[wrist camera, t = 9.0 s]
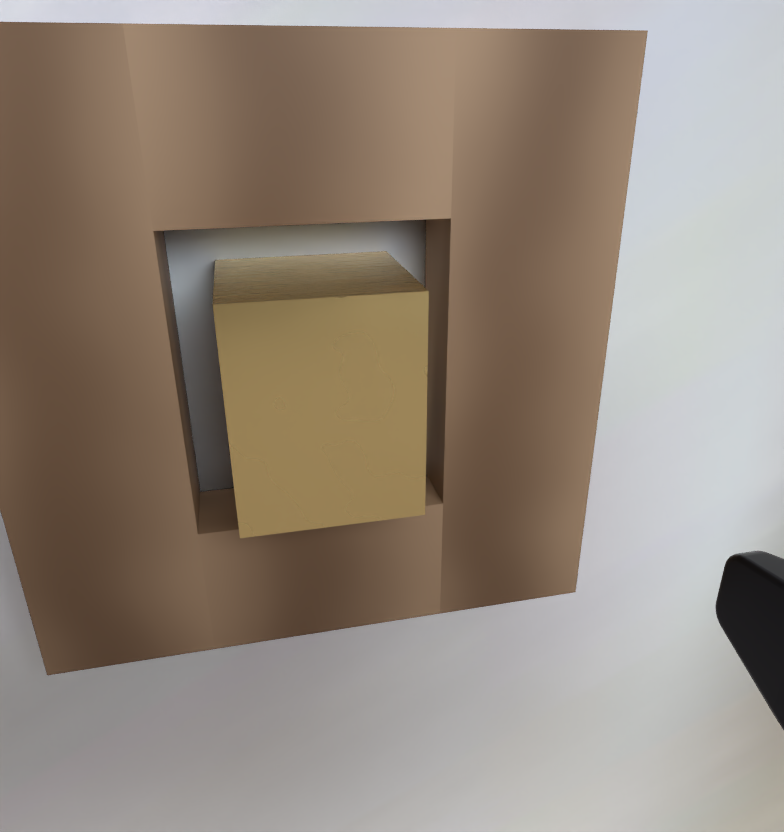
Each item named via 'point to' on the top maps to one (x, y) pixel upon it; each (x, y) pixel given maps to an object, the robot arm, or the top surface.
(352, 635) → the top surface
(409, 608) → the brown square frame
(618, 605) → the top surface
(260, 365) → the tan wooden block
